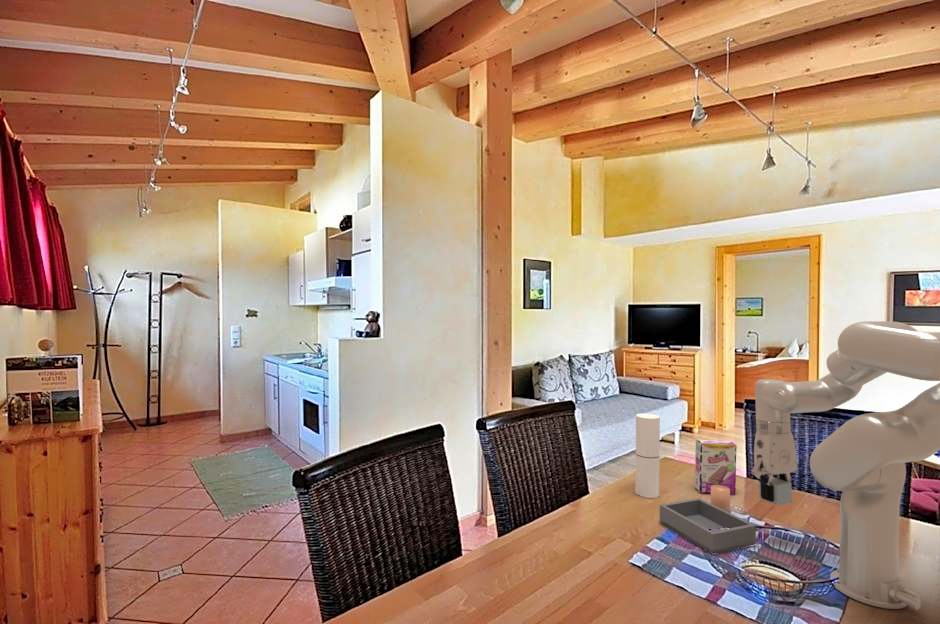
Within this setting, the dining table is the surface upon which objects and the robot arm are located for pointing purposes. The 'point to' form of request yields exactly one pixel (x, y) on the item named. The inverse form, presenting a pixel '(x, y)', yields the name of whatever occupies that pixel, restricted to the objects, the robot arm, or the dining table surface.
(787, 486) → the cube
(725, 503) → the cylinder
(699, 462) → the candy bar box
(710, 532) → the tray
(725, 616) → the dining table surface
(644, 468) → the cylindrical container
